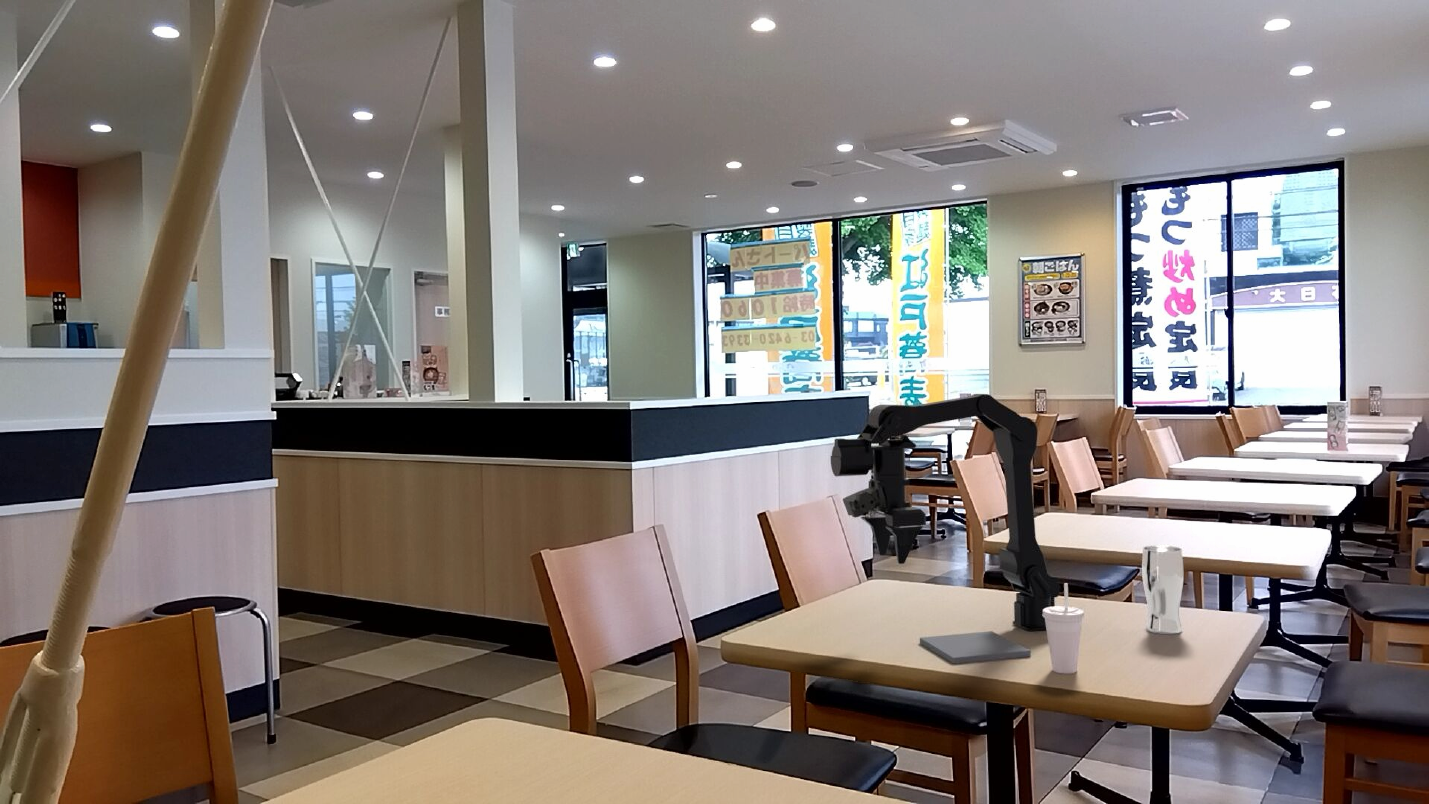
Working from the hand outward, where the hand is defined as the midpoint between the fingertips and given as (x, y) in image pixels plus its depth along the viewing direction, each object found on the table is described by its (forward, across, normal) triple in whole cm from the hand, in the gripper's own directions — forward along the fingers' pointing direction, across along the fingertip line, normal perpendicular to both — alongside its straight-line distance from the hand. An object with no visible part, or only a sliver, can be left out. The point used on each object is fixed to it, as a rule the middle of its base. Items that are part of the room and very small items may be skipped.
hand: (891, 559), depth 191 cm
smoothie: (+15, +27, +18) cm, 36 cm away
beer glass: (+15, +10, +48) cm, 52 cm away
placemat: (+15, +11, +10) cm, 21 cm away
